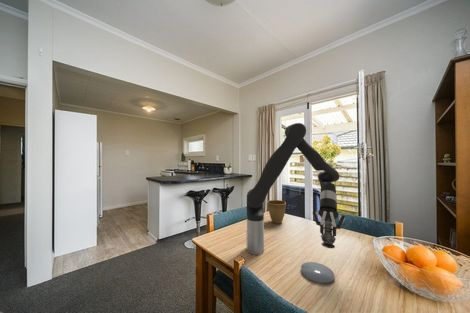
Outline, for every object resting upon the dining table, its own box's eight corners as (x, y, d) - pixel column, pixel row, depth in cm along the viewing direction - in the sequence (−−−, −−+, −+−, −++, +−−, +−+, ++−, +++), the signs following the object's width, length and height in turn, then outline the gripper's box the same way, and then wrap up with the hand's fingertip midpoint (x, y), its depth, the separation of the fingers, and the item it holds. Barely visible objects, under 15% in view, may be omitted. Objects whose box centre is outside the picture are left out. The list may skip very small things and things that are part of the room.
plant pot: (271, 217, 148) (271, 199, 148) (289, 221, 139) (288, 201, 140) (264, 223, 136) (263, 202, 136) (282, 227, 127) (282, 205, 128)
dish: (308, 284, 68) (308, 281, 68) (296, 264, 81) (296, 262, 81) (341, 283, 68) (341, 280, 68) (323, 264, 81) (323, 261, 81)
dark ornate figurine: (329, 249, 73) (329, 221, 73) (317, 243, 78) (317, 217, 79) (338, 247, 75) (338, 219, 76) (326, 241, 81) (326, 215, 81)
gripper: (312, 195, 87) (309, 228, 76) (345, 199, 80) (348, 235, 69) (313, 204, 92) (310, 235, 81) (344, 207, 85) (346, 243, 74)
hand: (328, 235), depth 75 cm, fingers closed on dark ornate figurine, 3 cm apart
